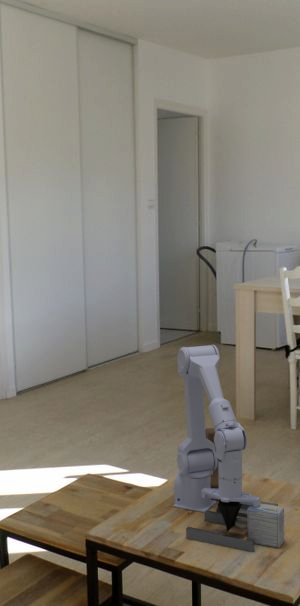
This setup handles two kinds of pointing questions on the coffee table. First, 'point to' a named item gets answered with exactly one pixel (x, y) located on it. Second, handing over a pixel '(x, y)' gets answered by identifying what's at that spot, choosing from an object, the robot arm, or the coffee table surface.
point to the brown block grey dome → (239, 528)
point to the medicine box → (266, 524)
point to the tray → (244, 508)
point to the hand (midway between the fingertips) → (230, 529)
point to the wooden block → (215, 476)
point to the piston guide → (219, 534)
